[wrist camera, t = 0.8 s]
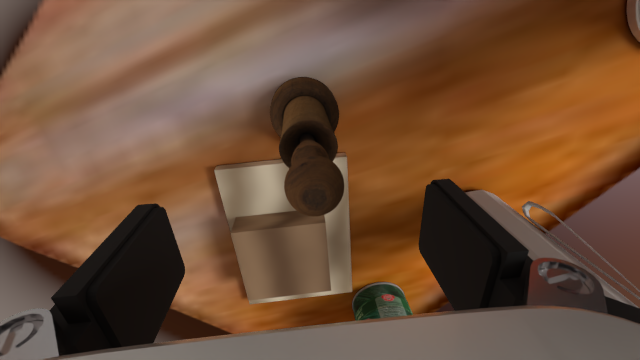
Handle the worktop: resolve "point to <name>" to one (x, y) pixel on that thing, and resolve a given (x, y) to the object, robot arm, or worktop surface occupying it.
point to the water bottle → (541, 238)
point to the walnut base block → (282, 254)
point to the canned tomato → (380, 302)
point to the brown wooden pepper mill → (308, 145)
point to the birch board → (269, 197)
